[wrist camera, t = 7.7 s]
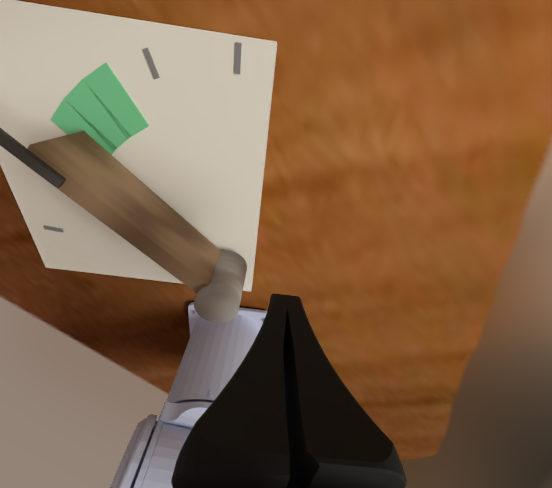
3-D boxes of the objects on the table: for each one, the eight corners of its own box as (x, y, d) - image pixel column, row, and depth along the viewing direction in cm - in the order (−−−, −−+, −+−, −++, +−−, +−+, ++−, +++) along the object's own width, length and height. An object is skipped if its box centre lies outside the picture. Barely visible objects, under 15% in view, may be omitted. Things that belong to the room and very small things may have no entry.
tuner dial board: (252, 284, 24) (250, 292, 23) (54, 260, 24) (44, 268, 23) (277, 43, 15) (276, 41, 14) (-57, -10, 14) (-82, -16, 13)
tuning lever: (254, 268, 21) (247, 310, 17) (229, 285, 22) (217, 328, 19) (66, 98, 15) (-9, 105, 11) (44, 134, 16) (-31, 151, 12)
